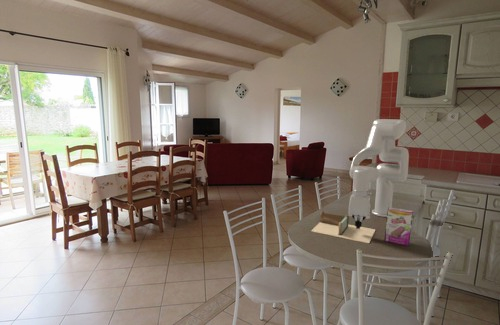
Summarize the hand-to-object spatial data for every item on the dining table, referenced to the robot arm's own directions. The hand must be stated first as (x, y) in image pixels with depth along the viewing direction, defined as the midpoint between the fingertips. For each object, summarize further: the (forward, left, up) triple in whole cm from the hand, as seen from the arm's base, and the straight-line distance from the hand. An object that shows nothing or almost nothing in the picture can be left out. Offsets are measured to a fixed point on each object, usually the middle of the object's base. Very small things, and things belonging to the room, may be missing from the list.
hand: (358, 227), depth 158 cm
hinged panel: (0, -8, -3) cm, 8 cm away
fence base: (-8, -14, -4) cm, 17 cm away
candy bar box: (-1, +18, -4) cm, 19 cm away
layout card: (-2, -8, -4) cm, 9 cm away
